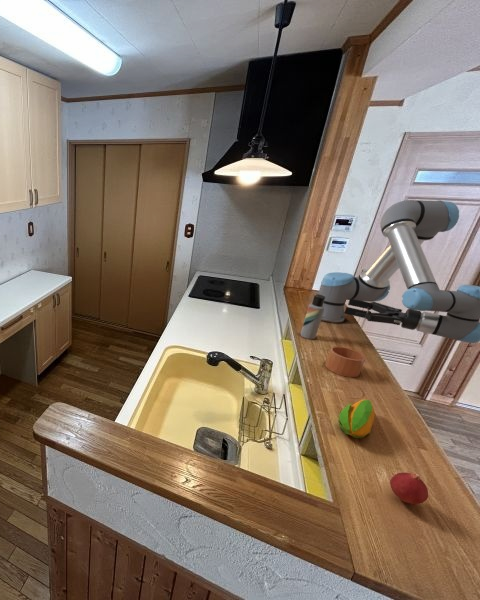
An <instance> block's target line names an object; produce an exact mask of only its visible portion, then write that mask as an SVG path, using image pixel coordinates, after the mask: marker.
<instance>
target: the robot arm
mask: <svg viewBox="0 0 480 600" xmlns="http://www.w3.org/2000/svg"><path fill="white" fill-rule="evenodd" d="M459 218H460V210H459V207H458V205H456V203H454V202H452V201H447V200H445V201H444V200H441V199H439V200H420V199H419V200H418V199H417V200H416V199H405V200H401V201H398V202H396V203H394V204H392V205H391V206H389V207H388V208H387V209H386V210H385V212H383V214H382V216H381V219H380V224H379V225H380V231H381V234H382V236H383V237H385V238H387V240H388V242H389V244H388V246H387V247H386V248H385V249H384V251H383V252H382V253H380V255H379V256H378V257H377V259H376V260H375V261H374V263H373V264H372V265H371V266H370V267H369V268H368V269H366V270H363V271H361V272H360V273H359V275H358V276H354V274H351V273H348V272H342V271H341V272H338V271H335V272H328V273H326V274H324V275H323V276H322V277H323V278H322V280H321V281H320V286H319V289H318V293H317V294H320V295H323V296H325V300H324V303H323V306H324V307H325V309H324V312H323V315H322V318H321V322H326V323H331V324H341V323H343V322H344V321H345V322H348V321H349V319H347V318H346V316H345V315H349V316H354V317H358V318H363V319H365V320H367V321H368V322H373V323H381V324H391V325H395V326H401V328H402V329H406V330H411V331H414V330H416V331H417V332H420V333H423V334H424V335H427V334H429V335H434V336H438V337H442V338H446V339H450V340H455V341H457V342H463V343H469V344H477V343H479V342H480V286H479V285H473V284H461V285H459V287H458V288H457V289H456V290H448V289H447V290H446V289H445V290H443V289H440V288H439V284H438V283H437V281H436V278H435V276H434V273H433V271H432V269H431V267H430V264H429V262H428V259H427V257H426V255H425V252H424V250H423V247H422V245H423V243H424V242H425V241H431V240H433V239H434V238H435V237H436V236H437V235H438V233H445V232H448V231H451V230H452V229H454V227H455V226H456V225H457V224H458V222H459ZM398 270H399V271H400V273H401V276H402V279H403V282H404V284H405V287H406V290H405V291H404V292H403V293H402V295H401V297H402V299H401V303H402V305H403V306H404V307H405V308H407V309H406V311H405V312H403V309H401V308H397V307H393V306H390V305H386V304H383V303H379V302H380V301H382V300H385V298H387V296H388V295H389V293H390V290H391V285H390V284H391V283H390V282H391V281H390V279H391V278H392V277H393V276H394V274H395V273H396V272H397V271H398ZM347 301H348V304H347V306H346V307H345V304H346V302H347ZM349 306H351V307H349ZM360 308H361V309H360ZM363 309H365V310H363ZM370 310H371V311H370ZM372 311H374V312H372ZM433 312H441V313H446V315H443V314H440V313H439V314H438V313H433Z"/></svg>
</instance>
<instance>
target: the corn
mask: <svg viewBox="0 0 480 600" xmlns="http://www.w3.org/2000/svg"><path fill="white" fill-rule="evenodd" d="M375 416H376V413H375V408H374V404H373V402H372V401H371V400H370V399H367V398H366V399H365V398H362V399H360V400H358V401H357V402H355V403H354V404H352V403H348V404H347V405H346V406H345V407H343V409H342V410H341V411H340V412H339V415H338V423H339V427H340V429H341V430H342V432H343V433H344V434H345V435H349V436H350V437H352V438H357V439H361V438H366V437H368V436H370V433H371V431H372V428H373V424H374V420H375Z"/></svg>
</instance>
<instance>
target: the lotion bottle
mask: <svg viewBox="0 0 480 600" xmlns="http://www.w3.org/2000/svg"><path fill="white" fill-rule="evenodd" d="M324 300H325V296H323V295H320V294H318V293H317V294H315V295H314V296H313V300H312V301H311V302H312V303H310V304H309V305H308V308H307V311H306V314H305V317H304V320H303V324H302V328H301V331H300V337H302V338H304V339H307V340H314V339H316V337H317V334H318V331H319V329H320V325H321V322H322V321H321V318H322V315H323V312H324V309H325V307H324V306H323V303H324Z"/></svg>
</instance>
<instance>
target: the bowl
mask: <svg viewBox="0 0 480 600" xmlns="http://www.w3.org/2000/svg"><path fill="white" fill-rule="evenodd" d="M365 362H366V355H364V354H363V353H361V352H360V351H358V350H356V349H354V348H353V349H352V348H349V347H345V346H339V345H338V346H337V345H336V346H335V345H334V346H331V347H330V349H329V351H328V354H327V357H326V360H325V364H324V365H325V367H326V368H327V370H328V371H331V372H332V373H334V374H337V375H339V376H342V377H343V376H344V377H347V378H356V377H359V376H360V374H361V371H362V368H363V366H364V364H365Z"/></svg>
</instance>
